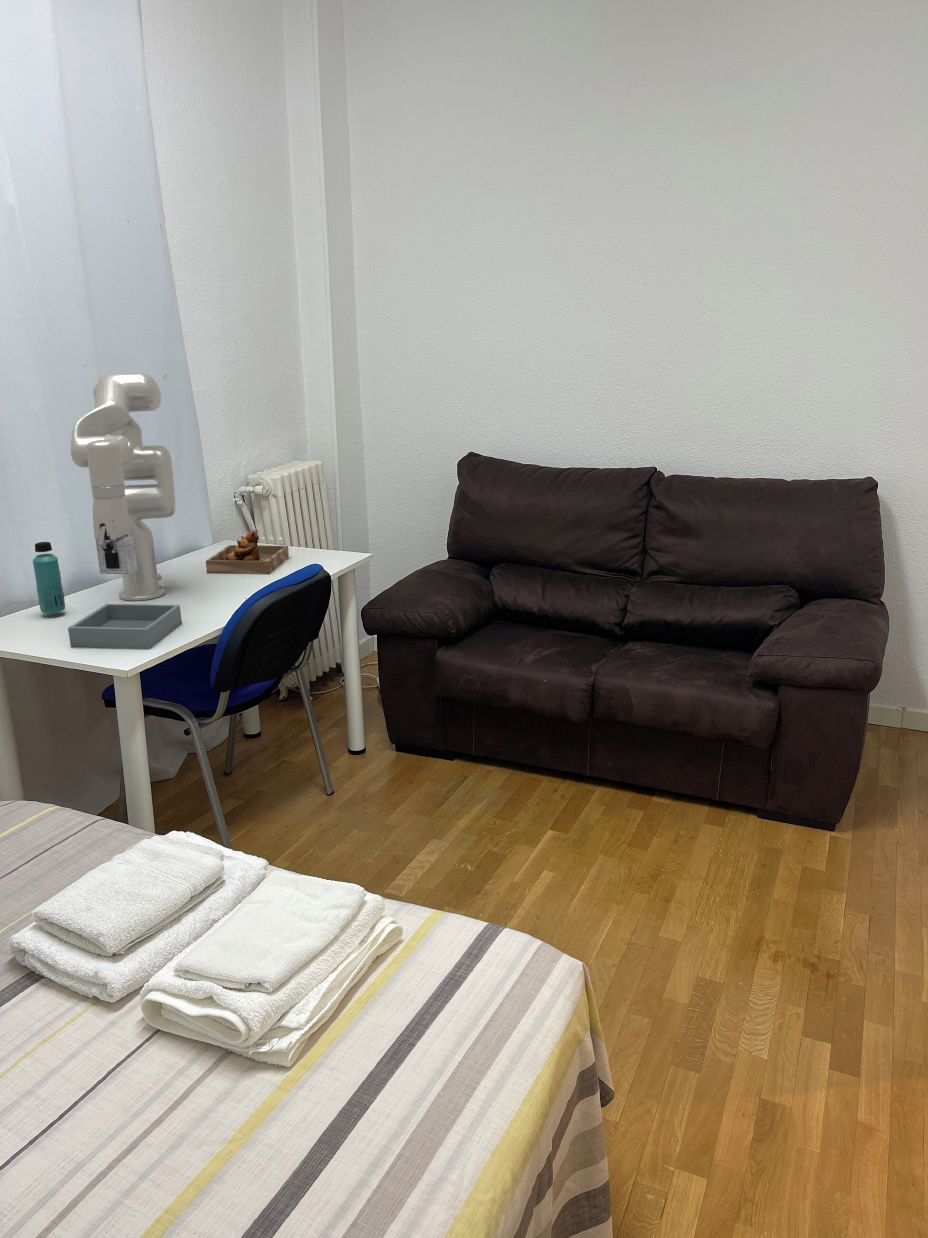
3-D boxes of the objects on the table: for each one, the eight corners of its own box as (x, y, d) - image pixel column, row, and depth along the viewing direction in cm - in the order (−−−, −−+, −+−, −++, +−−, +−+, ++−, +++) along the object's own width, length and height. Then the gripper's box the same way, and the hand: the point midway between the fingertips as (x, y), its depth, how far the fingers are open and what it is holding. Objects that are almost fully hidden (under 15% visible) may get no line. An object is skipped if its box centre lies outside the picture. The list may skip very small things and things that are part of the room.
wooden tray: (230, 556, 319) (229, 545, 318) (288, 557, 317) (288, 545, 316) (206, 573, 299) (205, 560, 298) (269, 574, 297) (268, 561, 296)
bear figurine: (229, 562, 313) (226, 525, 309) (274, 563, 311) (271, 526, 308) (214, 573, 300) (211, 535, 296) (261, 574, 298) (258, 535, 295)
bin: (108, 622, 253) (106, 603, 252) (181, 623, 251) (179, 605, 250) (70, 647, 235) (67, 627, 233) (149, 649, 232) (147, 629, 231)
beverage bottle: (57, 619, 257) (46, 545, 250) (35, 618, 258) (23, 545, 252) (71, 612, 263) (61, 540, 257) (50, 610, 264) (39, 539, 258)
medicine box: (138, 570, 239) (134, 536, 237) (129, 575, 235) (124, 540, 233) (109, 569, 241) (104, 535, 238) (99, 574, 237) (94, 539, 234)
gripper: (110, 485, 240) (119, 557, 246) (76, 498, 224) (86, 574, 230) (139, 486, 239) (147, 557, 245) (106, 498, 223) (116, 574, 229)
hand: (118, 564), depth 237 cm, fingers closed on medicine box, 4 cm apart
